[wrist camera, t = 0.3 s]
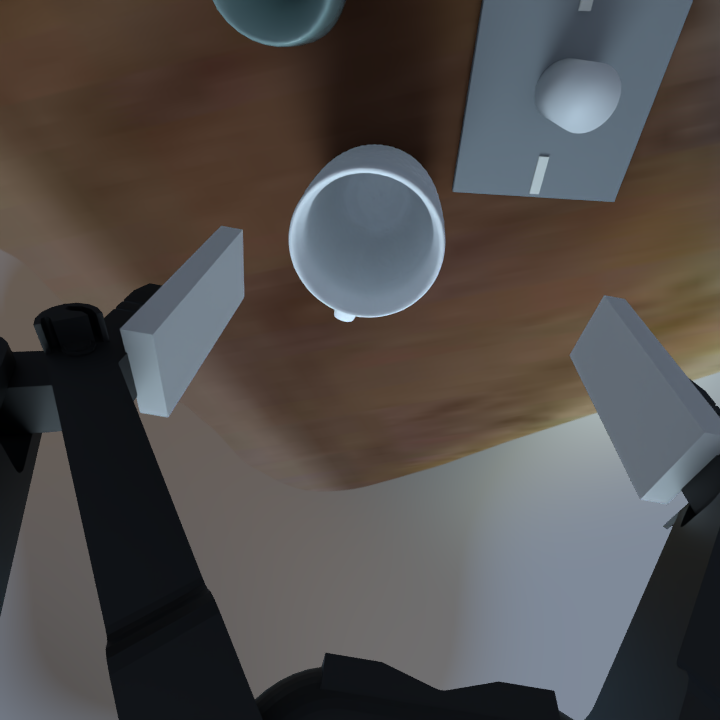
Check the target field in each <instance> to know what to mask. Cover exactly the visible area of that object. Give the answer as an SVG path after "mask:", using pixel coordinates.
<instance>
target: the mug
mask: <svg viewBox="0 0 720 720" xmlns="http://www.w3.org/2000/svg"><path fill="white" fill-rule="evenodd" d="M289 250H290V255H291V259H292V262H293V265H294V268H295V270H296V272H297V274H298V276H299V277H300V279H301V281H302V282H303V283H304V285H305V286H306V287H307V288H308V290H309V291H310V292H311V293H312V294H313V295H314V296H315V297H316V298H317V299H319V300H320V301H321V302H323V303H324V304H326V305H327V306H329V307H331V308H332V309H335V311H334V316H335V317H336V318H337V319H339V320H342V321H345V322H351V321H353V319H354V318H355V316H358V317H381V316H386V315H390V314H393V313H396V312H399V311H401V310H403V309H405V308H407V307H409V306H411V305H412V304H414V303H415V302H416V301H417V300H419V299H420V298H421V297H422V296H423V295H424V294H425V293H426V292H427V291H428V290H429V288H430V287H431V286H432V284H433V283H434V281H435V279H436V278H437V276H438V273H439V271H440V268H441V265H442V262H443V258H444V252H445V230H444V219H443V213H442V209H441V203H440V201H439V196H438V194H437V190H436V188H435V185H434V184H433V181H432V179H431V178H430V176H429V175H428V173H427V171H426V170H425V169H424V168H423V167H422V165H421V164H420V163H419V162H418V161H417V160H416V159H415V158H413V157H412V156H411V155H409V154H407V153H406V152H404V151H401V150H400V149H396V148H394V147H390V146H384V145H376V144H373V145H370V144H368V145H366V146H364V145H361V146H360V147H355V148H353V149H349V150H348V151H347V152H343V153H342V154H341V155H339V156H336V157H335V158H334V159H332V161H331V162H329V163H328V164H327V165H326V166H325V167H324V168H323V169H322V170H321V171H320V172H319V173H318V175H316V176H315V178H314V179H313V181H312V182H311V183H310V185H309V187H308V188H307V189H306V191H305V193H304V195H303V196H302V198H301V199H300V201H299V202H298V204H297V206H296V208H295V211H294V213H293V216H292V219H291V223H290V229H289Z"/></svg>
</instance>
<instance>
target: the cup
mask: <svg viewBox="0 0 720 720" xmlns="http://www.w3.org/2000/svg"><path fill="white" fill-rule="evenodd" d="M213 2H214V4H215V6H216V8H217V9H218V11H219V12H220V13H221V15H222V16H223V17H224V18H225V20H226V21H227V22H228V23H229V24H230V25H231V26H232V27H234V28H235V29H236V30H237V31H238V32H239V33H241V34H242V35H244V36H246V37H248V38H249V39H251V40H253V41H256V42H259V43H261V44H264V45H268V46H275V47H293V46H302V45H306V44H309V43H312V42H315V41H317V40H319V39H320V38H322V37H324V36H325V35H327V34H328V33H329V31H330V30H331V29H332V28H333V27H334V26H335V25H336V23H337V21H338V19H339V17H340V16H341V14H342V11H343V8H344V5H345V3H346V0H213Z"/></svg>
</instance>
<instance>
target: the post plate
mask: <svg viewBox="0 0 720 720" xmlns="http://www.w3.org/2000/svg"><path fill="white" fill-rule="evenodd" d="M692 2H693V0H482V4H481V11H480V17H479V23H478V29H477V36H476V42H475V48H474V55H473V61H472V67H471V73H470V80H469V86H468V92H467V98H466V105H465V111H464V117H463V123H462V130H461V136H460V142H459V149H458V155H457V161H456V167H455V174H454V180H453V186H452V190H453V192H463V193H479V194H495V195H511V196H528V197H544V198H560V199H576V200H592V201H608V202H614V201H615V198H616V196H617V193H618V191H619V188H620V186H621V183H622V181H623V178H624V175H625V173H626V170H627V168H628V165H629V163H630V160H631V158H632V155H633V152H634V150H635V147H636V145H637V142H638V140H639V137H640V135H641V132H642V129H643V127H644V124H645V122H646V119H647V117H648V114H649V112H650V109H651V106H652V104H653V101H654V99H655V96H656V94H657V91H658V88H659V86H660V83H661V81H662V78H663V76H664V73H665V71H666V68H667V65H668V63H669V60H670V58H671V55H672V53H673V50H674V48H675V45H676V42H677V40H678V37H679V35H680V32H681V30H682V27H683V25H684V22H685V19H686V17H687V14H688V12H689V9H690V7H691V4H692Z"/></svg>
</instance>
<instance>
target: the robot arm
mask: <svg viewBox="0 0 720 720" xmlns="http://www.w3.org/2000/svg"><path fill="white" fill-rule="evenodd" d="M243 298H244V265H243V230H241V229H236V228H230V227H225V226H221V227H220V228H219V229H218V230H217V231H216V232H215V233H214V234H213V235H212V236H211V237H210V238H209V239H208V240H207V241H206V242H205V243H204V244H203V245H202V246H201V247H200V248H199V249H198V250H197V251H196V252H195V253H194V254H193V255H192V256H191V257H190V258H189V259H188V260H187V261H186V262H185V263H184V264H183V265H182V266H181V267H180V268H179V269H178V270H177V271H176V272H175V273H174V274H173V275H172V276H171V277H170V278H169V279H168V281H167V282H166V283H165V284H164V285H163V286H161V285H156V284H150V283H149V284H147V285H145V286H143V287H140V288H138V289H136V290H134V291H133V292H132V293H131V294H130V295H129V296H127V297H126V298H125V299H124V302H121V303H120V304H119V305H118V306H117V307H116V309H113V310H112V311H111V312H110V313H109V314H108V315H107V316H106V317H105V318H103V314H102V312H101V311H100V310H99V309H98V308H97V307H95V306H92V305H90V304H82V303H70V304H63V305H58V306H55V307H51V308H49V309H47V310H45V311H43V312H41V313H40V314H39V315H38V316H37V317H36V318H35V321H34V327H35V330H36V333H37V335H38V338H39V340H40V343H41V345H42V348H43V350H44V351H30V352H29V351H26V352H12V351H11V349H10V347H9V345H8V343H7V342H6V341H5V340H4V339H3V338H2V337H0V614H1V611H2V606H3V602H4V597H5V593H6V588H7V584H8V580H9V575H10V571H11V567H12V562H13V558H14V553H15V549H16V545H17V540H18V536H19V531H20V527H21V523H22V518H23V514H24V509H25V505H26V501H27V496H28V492H29V487H30V483H31V479H32V474H33V470H34V465H35V461H36V456H37V452H38V448H39V443H40V439H41V435H42V433H43V432H56V431H62V433H63V438H64V442H65V447H66V451H67V456H68V460H69V465H70V470H71V474H72V479H73V483H74V488H75V492H76V497H77V501H78V506H79V510H80V515H81V519H82V523H83V528H84V533H85V537H86V542H87V547H88V551H89V556H90V560H91V564H92V570H93V574H94V578H95V583H96V588H97V592H98V597H99V601H100V606H101V610H102V615H103V620H104V624H105V628H106V634H107V646H106V657H107V665H108V670H109V676H110V680H111V685H112V690H113V694H114V699H115V704H116V709H117V713H118V718H119V720H573V719H572V718H570V717H568V716H567V715H565V714H564V713H562V712H561V711H559V710H558V705H557V701H556V696H555V692H554V691H552V690H546V689H539V688H534V687H528V686H522V685H516V684H510V683H504V682H494V683H488V684H482V685H476V686H470V687H464V688H459V689H453V690H446V691H443V690H438V689H435V688H433V687H431V686H429V685H427V684H425V683H423V682H421V681H419V680H417V679H415V678H413V677H411V676H409V675H407V674H405V673H403V672H401V671H399V670H397V669H395V668H393V667H391V666H389V665H386V664H384V663H382V662H378V661H371V660H366V659H360V658H354V657H348V656H342V655H336V654H330V653H326V654H325V657H324V660H323V664H322V667H319V668H313V669H308V670H304V671H302V672H299V673H295V674H293V675H291V676H289V677H287V678H285V679H283V680H280V681H279V682H277V683H276V684H274V685H273V686H271V687H270V688H268V689H267V690H266V691H264V692H263V693H262V694H261V695H260V696H259V697H257V698H256V699H254V697H253V694H252V692H251V689H250V687H249V684H248V682H247V679H246V677H245V674H244V672H243V669H242V667H241V664H240V662H239V659H238V657H237V654H236V651H235V649H234V647H233V644H232V642H231V639H230V636H229V634H228V631H227V629H226V627H225V624H224V621H223V619H222V616H221V614H220V611H219V609H218V607H217V604H216V602H215V599H214V597H213V595H212V594H211V592H210V591H209V590H208V589H207V587H206V585H205V583H204V580H203V578H202V576H201V573H200V571H199V568H198V565H197V563H196V560H195V558H194V555H193V553H192V550H191V547H190V545H189V542H188V540H187V537H186V535H185V532H184V530H183V527H182V524H181V522H180V520H179V517H178V514H177V512H176V509H175V507H174V504H173V501H172V499H171V496H170V494H169V491H168V489H167V486H166V484H165V481H164V478H163V476H162V473H161V471H160V468H159V466H158V463H157V461H156V458H155V455H154V453H153V450H152V448H151V445H150V443H149V440H148V437H147V435H146V432H145V430H144V427H143V425H142V422H141V420H140V417H139V414H138V412H137V409H136V407H135V405H134V402H133V401H134V400H135V398H136V397H137V402H138V406H139V410H140V412H141V413H146V414H152V415H158V416H163V417H169V415H170V414H171V412H172V410H173V409H174V408H175V406H176V404H177V403H178V401H179V400H180V398H181V396H182V395H183V393H184V392H185V390H186V389H187V387H188V385H189V384H190V382H191V381H192V379H193V377H194V376H195V374H196V373H197V371H198V370H199V368H200V366H201V365H202V363H203V362H204V360H205V358H206V357H207V355H208V354H209V352H210V351H211V349H212V347H213V346H214V344H215V343H216V341H217V339H218V338H219V336H220V335H221V333H222V332H223V330H224V328H225V327H226V325H227V324H228V322H229V320H230V319H231V317H232V316H233V314H234V313H235V311H236V309H237V308H238V306H239V305H240V303H241V301H242V300H243ZM570 357H571V359H572V361H573V363H574V365H575V367H576V369H577V372H578V374H579V376H580V378H581V380H582V382H583V384H584V386H585V388H586V390H587V392H588V394H589V396H590V398H591V400H592V402H593V404H594V406H595V408H596V410H597V412H598V414H599V416H600V418H601V421H602V422H603V424H604V427H605V429H606V431H607V433H608V435H609V436H610V439H611V441H612V443H613V445H614V447H615V449H616V451H617V453H618V455H619V457H620V459H621V461H622V463H623V465H624V467H625V469H626V471H627V474H628V476H629V478H630V480H631V482H632V484H633V486H634V488H635V490H636V492H637V494H638V496H639V498H640V499H641V500H646V501H652V502H658V503H663V504H668V503H669V502H670V501H671V500H672V499H673V498H674V497H675V496H677V494H679V493H680V491H682V492H683V494H684V496H685V497H686V499H687V501H688V502H689V503H688V504H687V505H686V506H685V507H684V508H682V509H681V510H680V511H679V512H678V513H677V514H676V515H675V516H674V517H673V518H672V519H670V520H669V521H668V522H667V523H666V524H665V525H664V526H663V527H665V528H666V529H668V528H669V527H671V526H673V527H672V530H671V532H670V534H669V537H668V539H667V541H666V544H665V546H664V548H663V550H662V553H661V555H660V557H659V559H658V562H657V564H656V566H655V569H654V571H653V573H652V575H651V578H650V580H649V582H648V585H647V587H646V589H645V591H644V594H643V596H642V598H641V600H640V603H639V605H638V607H637V610H636V612H635V614H634V617H633V619H632V621H631V623H630V626H629V628H628V630H627V633H626V635H625V637H624V640H623V642H622V644H621V646H620V648H619V651H618V653H617V655H616V658H615V660H614V662H613V665H612V667H611V669H610V671H609V674H608V676H607V678H606V681H605V683H604V685H603V688H602V689H601V692H600V694H599V696H598V699H597V701H596V703H595V705H594V707H593V709H592V711H591V712H590V714H589V715H588V716H587V718H586V719H585V720H720V408H719V407H718V406H715V404H716V403H715V402H714V401H713V400H712V399H711V398H710V396H709V395H708V394H707V392H706V391H705V390H703V389H702V388H701V387H699V386H698V385H697V384H696V383H694V382H693V381H692V380H691V379H689V378H688V377H687V376H686V375H685V373H684V372H683V371H682V370H681V368H680V367H679V366H678V365H677V363H676V362H675V361H674V360H673V358H672V357H671V356H670V355H669V353H668V352H667V351H666V350H665V348H664V347H663V346H662V345H661V343H660V342H659V341H658V340H657V338H656V337H655V336H654V335H653V333H652V332H651V331H650V330H649V328H648V327H647V326H646V325H645V323H644V322H643V321H642V320H641V319H640V317H639V316H638V315H637V314H636V312H635V311H634V310H633V309H632V307H631V306H630V305H629V304H628V302H627V301H626V300H625V299H621V298H616V297H610V296H605V295H604V297H603V298H602V300H601V302H600V304H599V305H598V307H597V309H596V310H595V312H594V314H593V316H592V317H591V319H590V321H589V323H588V324H587V326H586V328H585V330H584V331H583V333H582V335H581V336H580V338H579V340H578V342H577V343H576V345H575V347H574V349H573V350H572V352H571V354H570Z"/></svg>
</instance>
